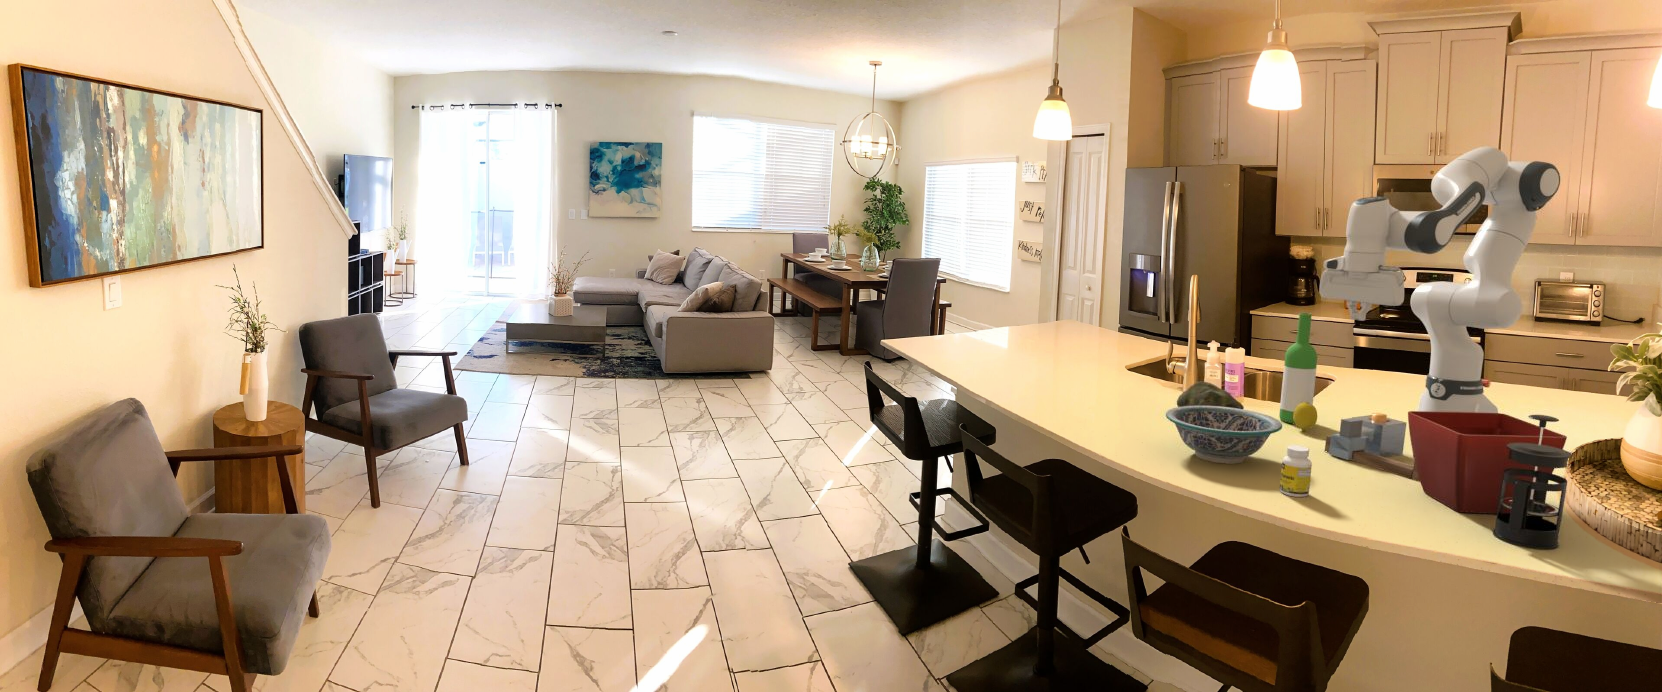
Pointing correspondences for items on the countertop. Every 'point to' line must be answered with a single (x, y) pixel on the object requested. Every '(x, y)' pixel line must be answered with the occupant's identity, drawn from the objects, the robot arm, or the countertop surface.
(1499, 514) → the french press
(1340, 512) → the countertop surface
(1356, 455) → the rail
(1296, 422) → the lemon
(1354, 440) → the carriage
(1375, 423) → the grey cube with hole
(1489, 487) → the plant pot
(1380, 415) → the gauge button
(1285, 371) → the wine bottle
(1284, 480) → the supplement bottle
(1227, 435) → the bowl
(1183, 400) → the decorative rock
